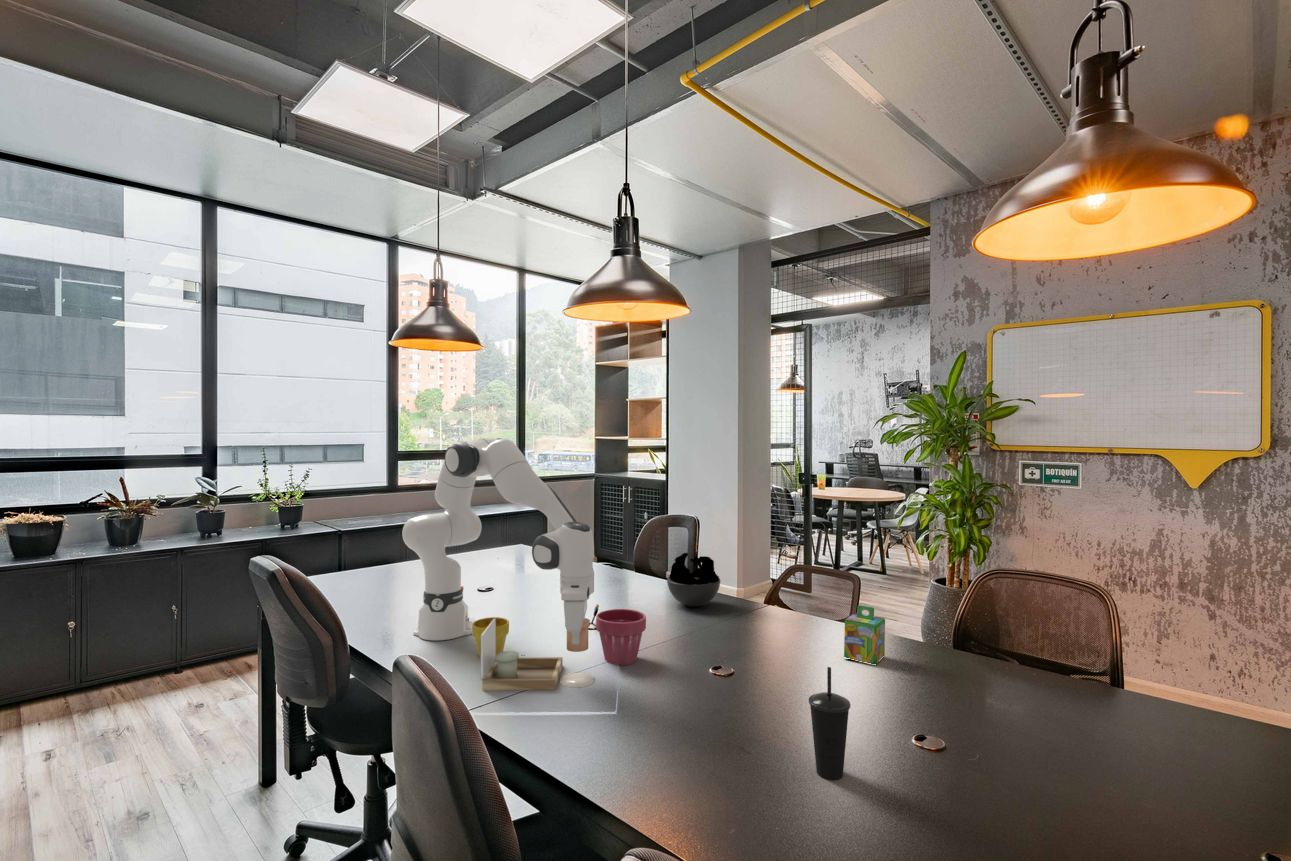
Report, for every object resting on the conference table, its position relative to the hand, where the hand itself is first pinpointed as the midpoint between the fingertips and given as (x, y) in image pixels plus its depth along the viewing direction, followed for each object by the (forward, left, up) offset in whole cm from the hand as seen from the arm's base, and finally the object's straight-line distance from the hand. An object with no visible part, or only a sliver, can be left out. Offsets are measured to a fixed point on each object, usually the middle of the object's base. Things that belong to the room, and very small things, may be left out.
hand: (577, 638), depth 161 cm
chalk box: (-16, +81, -12) cm, 83 cm away
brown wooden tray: (-2, -14, -11) cm, 18 cm away
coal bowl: (-72, +37, -12) cm, 82 cm away
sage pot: (-2, -19, -11) cm, 22 cm away
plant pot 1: (-20, -27, -12) cm, 36 cm away
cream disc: (0, 0, -11) cm, 11 cm away
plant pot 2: (-16, +11, -12) cm, 23 cm away
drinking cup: (+44, +52, -12) cm, 69 cm away
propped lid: (-2, -23, -9) cm, 25 cm away
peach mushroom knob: (0, 0, -2) cm, 2 cm away
